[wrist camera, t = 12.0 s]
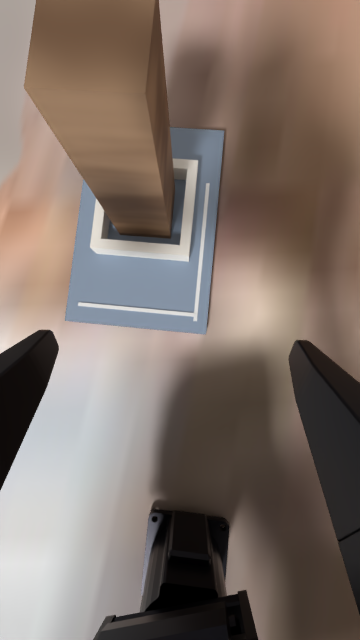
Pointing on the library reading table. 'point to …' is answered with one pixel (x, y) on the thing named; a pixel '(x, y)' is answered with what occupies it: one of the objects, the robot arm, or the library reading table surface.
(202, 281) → the blueprint board
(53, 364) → the robot arm
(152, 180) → the walnut column
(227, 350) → the library reading table surface
